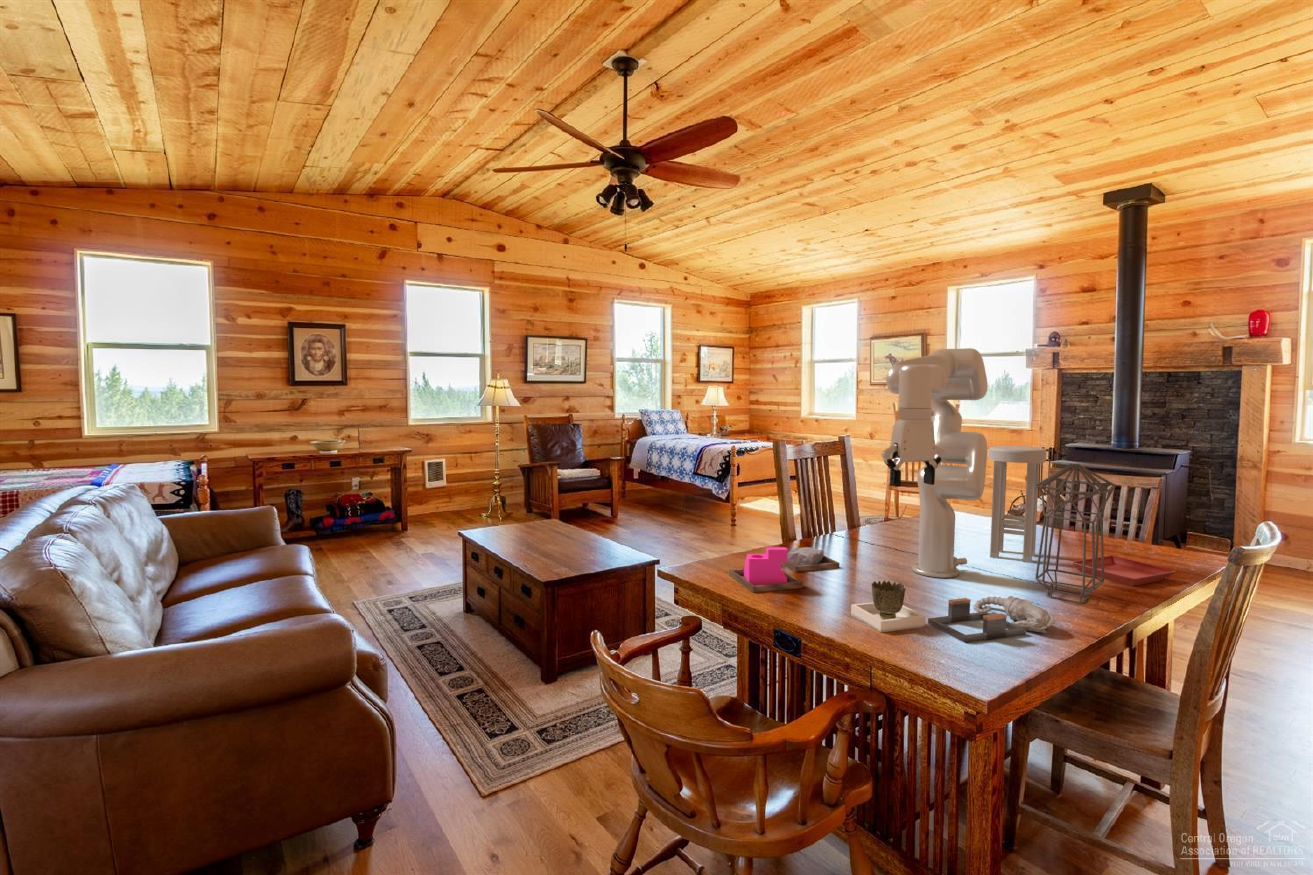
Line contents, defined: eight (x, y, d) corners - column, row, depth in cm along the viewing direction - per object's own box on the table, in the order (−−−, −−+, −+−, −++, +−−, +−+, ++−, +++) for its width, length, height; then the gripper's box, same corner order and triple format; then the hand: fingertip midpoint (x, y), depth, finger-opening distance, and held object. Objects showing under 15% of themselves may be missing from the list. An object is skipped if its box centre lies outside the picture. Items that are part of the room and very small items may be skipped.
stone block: (782, 569, 197) (814, 568, 192) (780, 553, 198) (811, 551, 192) (796, 562, 207) (826, 560, 202) (793, 547, 208) (824, 545, 202)
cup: (907, 625, 146) (908, 590, 146) (873, 623, 148) (874, 588, 147) (901, 614, 154) (902, 581, 153) (868, 612, 155) (869, 579, 154)
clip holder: (984, 616, 153) (985, 595, 153) (1026, 634, 142) (1027, 612, 141) (927, 623, 149) (928, 602, 149) (965, 643, 137) (966, 620, 137)
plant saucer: (1134, 589, 174) (1134, 577, 174) (1069, 572, 191) (1070, 561, 191) (1176, 582, 181) (1177, 570, 181) (1110, 565, 198) (1111, 554, 198)
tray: (892, 610, 158) (893, 599, 158) (924, 627, 147) (925, 616, 146) (851, 614, 155) (851, 604, 154) (880, 632, 143) (880, 621, 143)
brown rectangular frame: (811, 554, 210) (811, 549, 210) (839, 567, 194) (839, 562, 194) (770, 557, 206) (770, 552, 206) (795, 571, 190) (795, 566, 190)
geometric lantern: (1109, 597, 168) (1119, 463, 164) (1096, 613, 156) (1106, 470, 153) (1041, 583, 179) (1048, 457, 175) (1024, 597, 167) (1031, 464, 164)
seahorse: (957, 607, 157) (1039, 622, 139) (983, 584, 162) (1066, 595, 145) (963, 626, 157) (1046, 643, 140) (990, 603, 163) (1073, 616, 145)
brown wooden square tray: (774, 570, 191) (774, 565, 191) (802, 587, 175) (802, 582, 175) (729, 574, 187) (729, 569, 187) (753, 592, 171) (753, 586, 171)
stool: (989, 547, 218) (994, 444, 215) (1043, 554, 209) (1048, 447, 206) (981, 557, 206) (986, 448, 203) (1037, 565, 197) (1043, 451, 194)
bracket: (786, 587, 175) (787, 549, 174) (748, 586, 175) (749, 549, 174) (779, 574, 187) (779, 539, 186) (743, 573, 187) (744, 539, 186)
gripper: (933, 414, 164) (931, 481, 165) (874, 415, 159) (872, 484, 160) (955, 415, 157) (952, 485, 158) (893, 416, 152) (891, 488, 153)
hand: (912, 484), depth 159 cm, fingers open, 9 cm apart
